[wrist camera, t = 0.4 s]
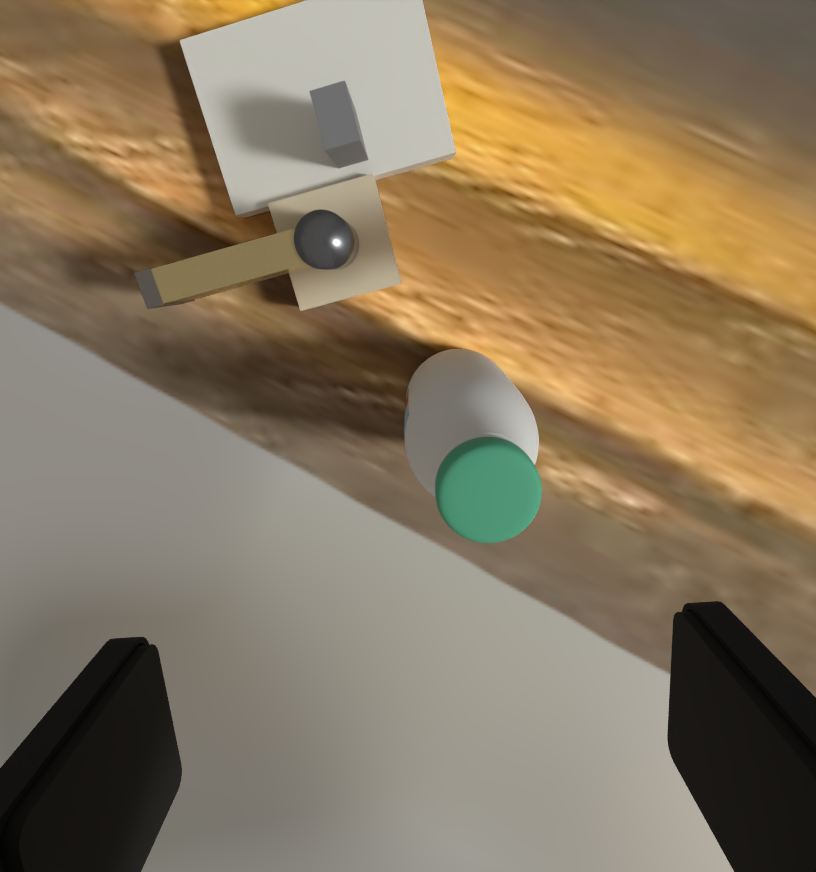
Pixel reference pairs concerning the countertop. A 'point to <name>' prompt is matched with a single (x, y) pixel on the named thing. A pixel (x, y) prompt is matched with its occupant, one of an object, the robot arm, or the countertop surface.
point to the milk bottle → (473, 445)
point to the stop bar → (253, 261)
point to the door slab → (310, 60)
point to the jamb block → (367, 218)
